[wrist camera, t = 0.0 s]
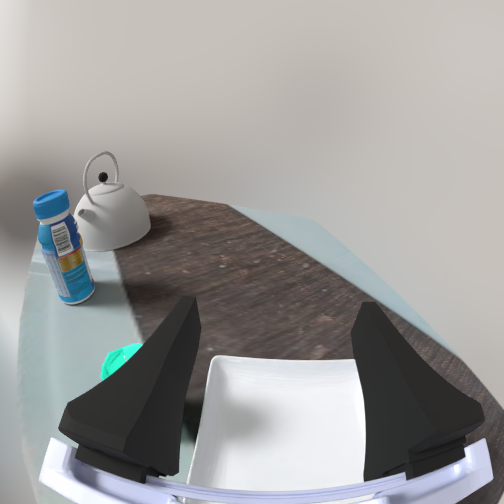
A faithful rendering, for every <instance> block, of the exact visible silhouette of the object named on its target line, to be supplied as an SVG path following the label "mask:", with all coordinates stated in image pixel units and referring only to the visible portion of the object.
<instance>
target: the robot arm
mask: <svg viewBox="0 0 504 504" xmlns="http://www.w3.org/2000/svg"><path fill="white" fill-rule="evenodd" d="M200 333H201V324H200V318H199V313H198V307H197V301H196V297H189V296H182V297H180V299H179V300H178V301H177V303H176V304H175V306H174V307H173V308H172V310H171V311H170V312H169V314H168V315H167V316H166V318H165V319H164V320H163V322H162V323H161V324H160V325H159V326H158V328H157V329H156V330H155V331H154V333H153V334H152V335H151V336H150V337H149V338H148V340H147V341H146V342H145V343H144V344H143V345H142V346H141V347H140V348H139V350H138V351H137V352H136V353H135V354H134V355H133V356H132V357H131V358H130V359H128V360H127V361H126V362H125V363H124V364H123V365H122V366H121V367H120V368H118V369H117V370H116V371H115V372H114V373H113V374H111V375H110V376H109V377H107V378H106V379H105V380H103V381H102V382H101V383H99V384H98V385H96V386H95V387H94V388H92V389H91V390H89V391H88V392H86V393H84V394H82V395H81V396H79V397H77V398H76V399H74V400H72V401H70V402H68V404H67V406H66V408H65V410H64V413H63V416H62V419H61V421H60V424H59V427H58V429H59V431H60V432H61V433H63V434H64V435H66V436H67V437H69V438H70V439H72V440H73V441H75V442H76V443H78V444H79V446H78V449H76V448H74V447H73V446H70V445H68V444H66V443H64V442H62V441H60V440H58V439H56V438H54V437H51V439H50V442H49V446H48V449H47V452H46V455H45V459H44V462H43V466H42V469H41V473H40V477H39V481H40V482H41V483H43V484H44V485H46V486H47V487H49V488H51V489H52V490H54V491H56V492H57V493H59V494H61V495H62V496H64V497H66V498H68V499H69V500H71V501H73V502H75V503H76V504H189V503H183V502H181V501H180V500H179V498H178V497H176V496H179V497H184V498H190V499H196V500H203V501H210V502H218V503H228V504H311V503H321V502H329V501H337V500H343V499H349V498H355V497H360V496H365V495H369V494H374V493H376V494H374V496H373V497H372V498H371V499H369V500H364V501H359V502H354V503H349V504H455V503H457V502H458V501H460V500H462V499H463V498H465V497H466V496H468V495H470V494H471V493H473V492H474V491H476V490H477V489H479V488H481V487H482V486H484V485H485V484H487V483H488V482H490V481H491V480H493V473H492V467H491V462H490V457H489V452H488V448H487V443H486V439H485V438H483V439H481V440H479V441H478V442H476V443H474V444H471V445H469V446H468V447H466V448H464V446H463V444H464V443H466V437H465V436H466V435H467V434H469V433H470V432H472V431H473V430H474V429H476V428H477V427H479V426H480V425H481V424H482V423H483V422H484V421H485V416H484V413H483V410H482V407H481V404H480V403H479V402H477V401H476V400H474V399H472V398H471V397H469V396H467V395H466V394H464V393H462V392H461V391H460V390H458V389H457V388H455V387H454V386H453V385H451V384H450V383H449V382H447V381H446V380H445V379H444V378H443V377H441V376H440V375H439V374H438V373H437V372H436V371H435V370H433V369H432V368H431V367H430V366H429V365H428V364H427V363H426V362H425V361H424V360H423V359H422V358H421V357H420V356H419V355H418V354H417V352H416V351H415V350H414V349H413V348H412V347H411V346H410V345H409V343H408V342H407V341H406V340H405V339H404V337H403V336H402V335H401V334H400V333H399V331H398V330H397V329H396V328H395V326H394V325H393V324H392V323H391V321H390V320H389V319H388V317H387V316H386V315H385V314H384V312H383V311H382V310H381V309H380V307H379V306H378V305H377V304H376V302H363V303H362V305H361V308H360V310H359V313H358V316H357V318H356V321H355V323H354V325H353V328H352V330H351V338H352V347H353V353H354V358H355V362H356V366H357V371H358V375H359V379H360V384H361V388H362V393H363V399H364V410H365V429H366V443H365V462H364V471H363V480H364V482H362V483H357V484H351V485H345V486H338V487H331V488H322V489H311V490H297V491H246V490H231V489H220V488H212V487H204V486H197V485H191V484H185V483H180V482H175V481H170V480H165V479H161V478H159V476H163V477H166V476H167V475H169V476H174V475H176V474H177V473H178V472H179V456H180V441H181V429H182V420H183V412H184V405H185V398H186V393H187V389H188V385H189V381H190V378H191V374H192V370H193V366H194V363H195V359H196V355H197V351H198V347H199V340H200Z"/></svg>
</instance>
